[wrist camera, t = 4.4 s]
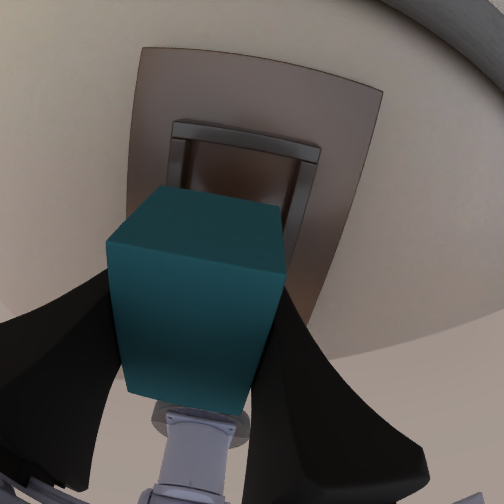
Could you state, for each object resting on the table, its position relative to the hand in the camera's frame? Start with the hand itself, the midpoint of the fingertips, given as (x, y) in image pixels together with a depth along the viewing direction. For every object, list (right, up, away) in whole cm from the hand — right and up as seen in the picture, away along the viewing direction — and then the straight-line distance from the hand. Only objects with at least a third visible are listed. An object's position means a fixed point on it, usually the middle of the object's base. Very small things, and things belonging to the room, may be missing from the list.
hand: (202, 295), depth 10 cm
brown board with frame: (+1, +4, +7) cm, 8 cm away
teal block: (0, +1, +1) cm, 1 cm away
